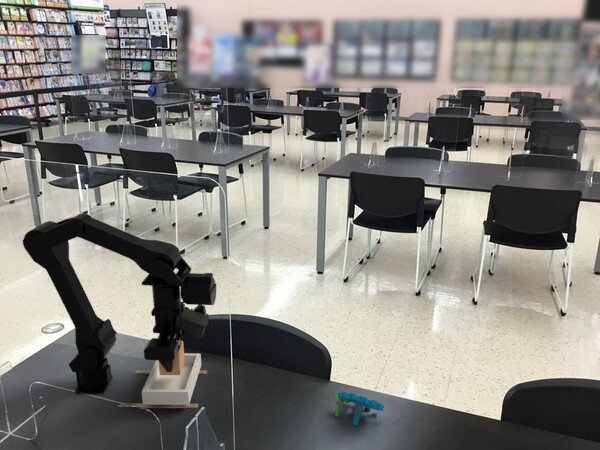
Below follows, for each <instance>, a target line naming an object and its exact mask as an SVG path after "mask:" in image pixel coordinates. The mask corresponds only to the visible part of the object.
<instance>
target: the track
mask: <svg viewBox="0 0 600 450" xmlns="http://www.w3.org/2000/svg"><path fill="white" fill-rule="evenodd" d="M151 371H152V369H150V370H149V369H145V370H144V369H141V370H140V369H136V371H135V375H150V373H151ZM207 371H208V370H200V371H199V374H198V375H208V372H207ZM206 372H207V373H206ZM202 373H203V374H202ZM119 404H122V406H121V407H125V406H124V405H128V406H127V407H129V406H135V407H141V408H140V409H145V408H146V409H198V408H199V403H189V405H143V402H140V403H139V402H138V403H136V402H134V403H131V402H130V403H128V402H126V403H124V402H123V403H122V402H120V403H119ZM119 404H118V406H119V407H120V405H119Z"/></svg>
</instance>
